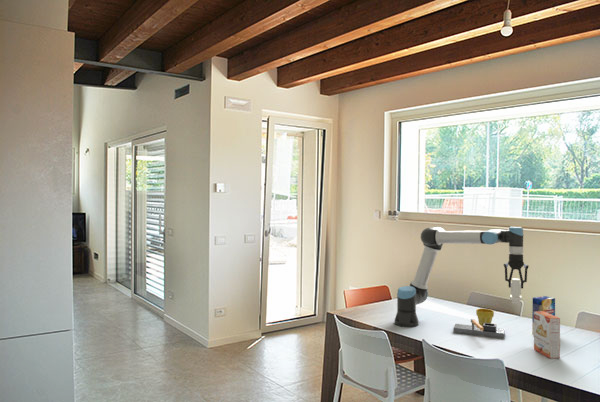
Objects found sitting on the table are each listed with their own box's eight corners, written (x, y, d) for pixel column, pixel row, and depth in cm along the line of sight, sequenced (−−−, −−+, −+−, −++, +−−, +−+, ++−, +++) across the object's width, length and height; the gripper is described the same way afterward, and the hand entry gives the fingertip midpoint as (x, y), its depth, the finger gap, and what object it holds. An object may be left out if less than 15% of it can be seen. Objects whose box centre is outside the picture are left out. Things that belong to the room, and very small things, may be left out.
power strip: (453, 332, 283) (453, 322, 283) (455, 328, 292) (455, 318, 292) (503, 338, 271) (504, 328, 271) (504, 334, 280) (504, 324, 280)
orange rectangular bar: (470, 328, 280) (470, 319, 280) (474, 328, 280) (474, 319, 280) (479, 337, 262) (479, 327, 262) (484, 337, 262) (484, 327, 262)
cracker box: (533, 349, 251) (533, 311, 251) (543, 349, 252) (544, 310, 251) (549, 358, 237) (549, 317, 237) (560, 358, 238) (560, 317, 237)
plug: (509, 304, 269) (510, 280, 268) (510, 301, 276) (510, 277, 276) (521, 305, 266) (521, 281, 266) (521, 302, 274) (521, 278, 274)
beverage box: (555, 335, 278) (555, 298, 278) (542, 337, 273) (542, 300, 273) (544, 332, 284) (544, 296, 284) (532, 334, 279) (532, 297, 279)
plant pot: (495, 328, 292) (495, 312, 292) (477, 327, 294) (477, 311, 294) (491, 323, 302) (492, 308, 302) (475, 323, 304) (475, 308, 304)
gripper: (532, 253, 272) (532, 293, 272) (500, 252, 279) (500, 291, 279) (532, 255, 265) (532, 296, 265) (499, 253, 272) (499, 293, 273)
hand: (515, 293), depth 272 cm, fingers closed on plug, 4 cm apart
